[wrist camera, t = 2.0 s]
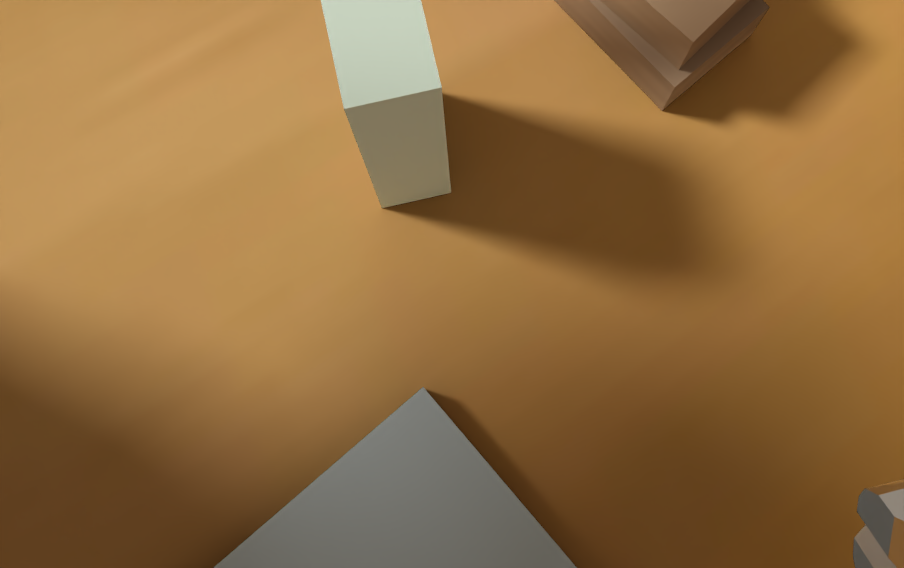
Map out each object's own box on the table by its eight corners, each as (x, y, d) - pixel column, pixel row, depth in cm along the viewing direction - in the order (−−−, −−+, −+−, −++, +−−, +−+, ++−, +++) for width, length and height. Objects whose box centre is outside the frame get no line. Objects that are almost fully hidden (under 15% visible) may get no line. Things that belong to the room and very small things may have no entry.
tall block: (382, 208, 30) (344, 109, 22) (359, 104, 31) (313, -33, 22) (451, 192, 30) (441, 87, 22) (427, 89, 31) (408, -54, 22)
